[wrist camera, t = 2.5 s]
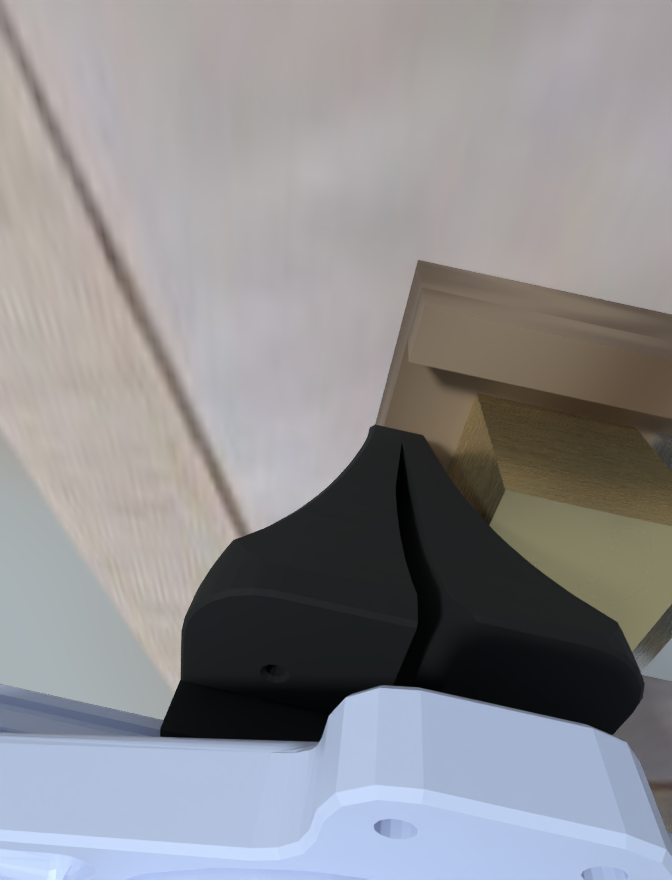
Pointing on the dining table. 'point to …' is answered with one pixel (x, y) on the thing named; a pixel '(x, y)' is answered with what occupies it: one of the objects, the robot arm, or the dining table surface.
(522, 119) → the dining table surface
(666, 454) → the grey cube
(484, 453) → the yellow cube
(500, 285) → the slot block
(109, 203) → the dining table surface
